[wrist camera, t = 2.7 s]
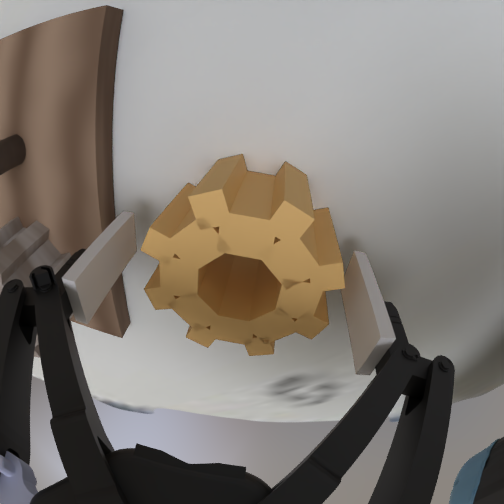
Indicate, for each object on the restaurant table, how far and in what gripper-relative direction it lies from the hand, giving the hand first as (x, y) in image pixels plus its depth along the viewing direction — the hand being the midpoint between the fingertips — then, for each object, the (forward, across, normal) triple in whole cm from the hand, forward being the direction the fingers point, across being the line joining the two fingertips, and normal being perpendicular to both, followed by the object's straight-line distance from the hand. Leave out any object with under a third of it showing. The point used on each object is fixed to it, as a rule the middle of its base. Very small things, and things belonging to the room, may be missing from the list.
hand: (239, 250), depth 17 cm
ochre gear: (+3, 0, 0) cm, 3 cm away
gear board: (+3, +18, -1) cm, 18 cm away
